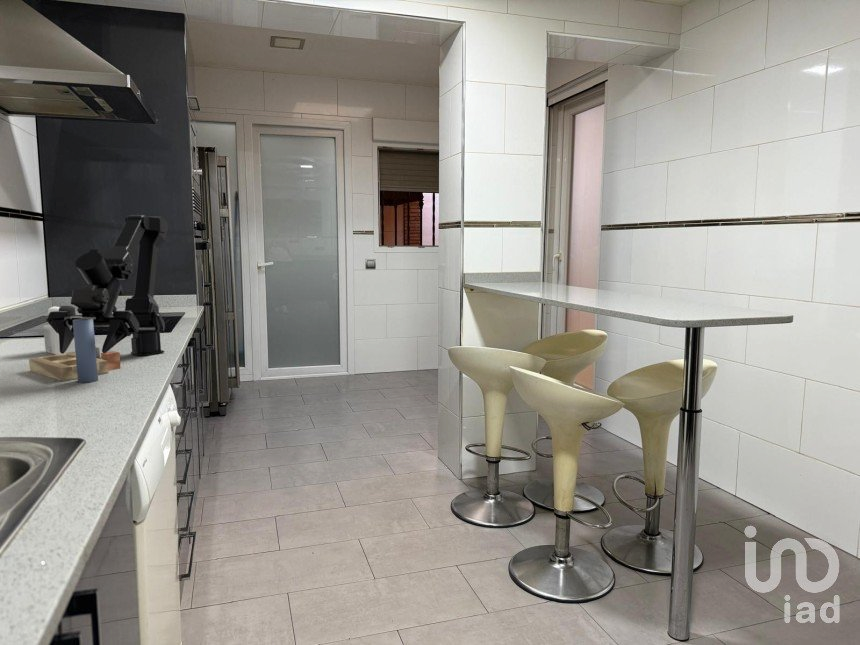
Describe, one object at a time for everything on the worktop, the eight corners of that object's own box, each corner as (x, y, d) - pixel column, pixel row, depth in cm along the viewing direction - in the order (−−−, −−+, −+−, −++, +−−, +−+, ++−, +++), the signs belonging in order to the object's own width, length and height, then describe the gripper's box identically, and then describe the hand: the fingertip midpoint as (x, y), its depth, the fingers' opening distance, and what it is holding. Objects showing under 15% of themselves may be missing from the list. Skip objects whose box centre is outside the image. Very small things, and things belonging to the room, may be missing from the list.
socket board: (91, 360, 159) (90, 345, 159) (126, 369, 149) (125, 353, 148) (29, 370, 148) (28, 354, 147) (63, 381, 137) (62, 363, 137)
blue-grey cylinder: (93, 377, 141) (87, 318, 139) (101, 380, 138) (96, 319, 136) (74, 381, 137) (69, 320, 135) (83, 383, 135) (77, 321, 133)
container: (74, 348, 178) (70, 304, 176) (85, 351, 173) (81, 305, 171) (45, 352, 172) (40, 306, 170) (55, 355, 167) (51, 308, 165)
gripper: (47, 276, 138) (21, 331, 129) (130, 275, 139) (110, 330, 129) (69, 306, 147) (46, 360, 138) (147, 306, 148) (130, 359, 138)
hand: (82, 352), depth 136 cm, fingers open, 9 cm apart
